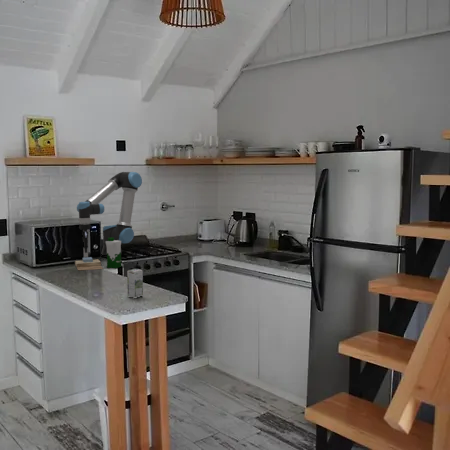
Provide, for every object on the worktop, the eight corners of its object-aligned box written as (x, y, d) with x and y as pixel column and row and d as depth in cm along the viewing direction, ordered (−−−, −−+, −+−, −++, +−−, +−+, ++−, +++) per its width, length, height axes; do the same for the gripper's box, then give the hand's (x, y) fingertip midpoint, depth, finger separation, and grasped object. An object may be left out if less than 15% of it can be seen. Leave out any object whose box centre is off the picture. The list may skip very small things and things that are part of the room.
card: (82, 260, 378) (82, 257, 378) (91, 259, 380) (91, 257, 380) (83, 262, 370) (83, 259, 370) (92, 261, 372) (92, 259, 372)
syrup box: (135, 295, 288) (135, 268, 286) (143, 297, 284) (142, 269, 283) (127, 297, 284) (126, 270, 282) (135, 299, 280) (134, 271, 278)
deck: (75, 265, 377) (75, 260, 377) (98, 263, 383) (98, 259, 383) (76, 268, 366) (76, 263, 366) (100, 266, 372) (100, 262, 371)
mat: (76, 268, 366) (76, 267, 366) (100, 266, 372) (100, 265, 372) (78, 270, 357) (78, 270, 357) (102, 268, 362) (102, 268, 362)
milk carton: (112, 265, 374) (112, 236, 372) (123, 266, 370) (122, 237, 368) (104, 267, 366) (103, 238, 364) (115, 268, 362) (114, 239, 360)
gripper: (78, 223, 386) (79, 255, 388) (80, 224, 374) (81, 258, 376) (89, 222, 388) (90, 255, 391) (91, 224, 376) (92, 258, 379)
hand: (85, 257), depth 383 cm, fingers closed
